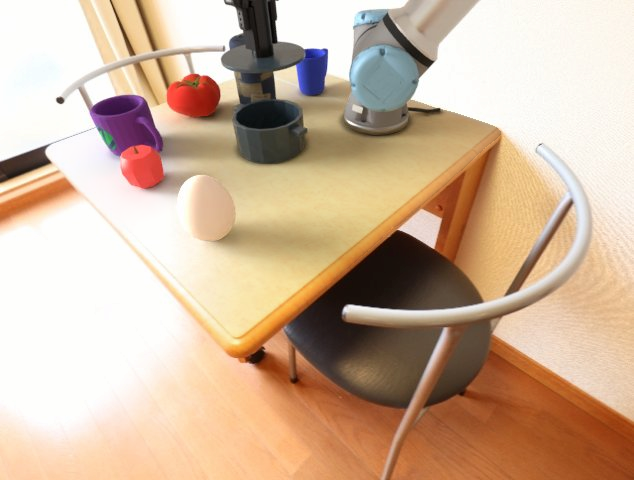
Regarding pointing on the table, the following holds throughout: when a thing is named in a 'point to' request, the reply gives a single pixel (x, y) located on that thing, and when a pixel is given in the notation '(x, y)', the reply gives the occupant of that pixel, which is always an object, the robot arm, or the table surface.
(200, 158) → the table surface
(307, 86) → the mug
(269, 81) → the canister
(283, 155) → the pot
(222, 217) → the egg
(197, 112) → the tomato
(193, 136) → the table surface
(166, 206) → the table surface
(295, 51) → the lid
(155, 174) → the apple
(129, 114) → the mug
